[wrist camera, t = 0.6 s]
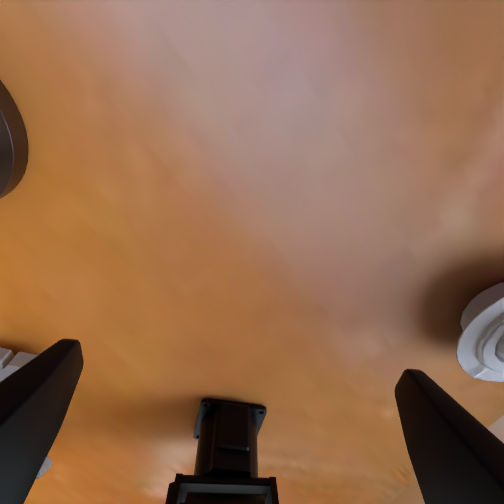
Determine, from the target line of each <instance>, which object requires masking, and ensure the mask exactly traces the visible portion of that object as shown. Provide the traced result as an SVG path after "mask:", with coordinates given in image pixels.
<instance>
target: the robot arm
mask: <svg viewBox="0 0 504 504" xmlns="http://www.w3.org/2000/svg"><path fill="white" fill-rule="evenodd" d="M82 369H83V355H82V350H81V345H80V342H79V341H78V340H74V339H62V340H59V341H58V342H57V343H55V344H54V345H52V346H51V347H49V348H48V349H46V350H45V351H44V352H42V353H41V354H39V355H38V356H36V357H35V358H34V359H32V360H31V361H29V362H28V363H26V364H25V365H23V366H22V367H21V368H19V369H18V370H16V371H15V372H13V373H12V374H10V375H9V376H8V377H6V378H5V379H3V380H2V381H0V504H23V503H24V501H25V499H26V497H27V495H28V493H29V491H30V489H31V487H32V485H33V483H34V481H35V479H36V477H37V475H38V473H39V471H40V469H41V467H42V465H43V463H44V461H45V459H46V457H47V455H48V453H49V451H50V449H51V447H52V444H53V442H54V440H55V438H56V436H57V434H58V432H59V430H60V428H61V425H62V423H63V420H64V418H65V415H66V412H67V410H68V407H69V404H70V402H71V399H72V396H73V393H74V391H75V388H76V385H77V383H78V380H79V377H80V374H81V372H82ZM395 398H396V402H397V407H398V411H399V416H400V420H401V424H402V429H403V433H404V437H405V442H406V446H407V450H408V453H409V456H410V459H411V462H412V465H413V468H414V471H415V475H416V478H417V481H418V483H419V487H420V489H421V493H422V496H423V499H424V502H425V504H504V444H503V443H502V442H501V441H500V440H499V439H498V438H497V437H496V436H495V435H493V434H492V433H491V432H490V431H489V430H488V429H487V428H486V427H485V426H483V425H482V424H481V423H480V422H479V421H478V420H477V419H476V418H474V417H473V416H472V415H471V414H470V413H469V412H468V411H467V410H465V409H464V408H463V407H462V406H461V405H460V404H459V403H458V402H456V401H455V400H454V399H453V398H452V397H451V396H450V395H449V394H447V393H446V392H445V391H444V390H443V389H442V388H441V387H440V386H438V385H437V384H436V383H435V382H434V381H433V380H432V379H431V378H430V377H428V376H427V375H426V374H425V373H424V372H423V371H421V370H417V369H406V370H404V372H403V374H402V375H401V377H400V379H399V381H398V383H397V385H396V387H395ZM265 415H266V407H265V406H261V405H253V404H246V403H238V402H230V401H223V400H215V399H207V398H205V399H202V401H201V404H200V409H199V413H198V417H197V422H196V426H195V431H194V438H195V439H199V440H198V448H197V455H196V463H195V470H194V475H183V474H176V478H175V481H174V482H172V483H170V484H169V488H168V493H167V498H166V503H165V504H279V500H278V492H277V484H276V477H269V478H258V462H257V435H258V432H259V430H260V427H261V425H262V422H263V420H264V418H265Z"/></svg>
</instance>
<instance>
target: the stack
mask: <svg viewBox="0 0 504 504" xmlns="http://www.w3.org/2000/svg"><path fill="white" fill-rule="evenodd" d="M27 162H28V140H27V134H26V129H25V126H24V123H23V120H22V117H21V115H20V113H19V110H18V108H17V106H16V104H15V102H14V100H13V99H12V97H11V95H10V93H9V92H8V90H7V89H6V88H5V86H4V85H3V83H2V82H1V80H0V198H2V197H4V196H5V195H7V194H8V193H10V192H11V191H12V190H13V189H14V188H15V187H16V186H17V185H18V183H19V182H20V181H21V179H22V177H23V175H24V173H25V170H26V166H27Z"/></svg>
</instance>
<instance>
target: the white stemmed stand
mask: <svg viewBox="0 0 504 504" xmlns="http://www.w3.org/2000/svg"><path fill="white" fill-rule="evenodd" d="M460 324H461V326H462V329H463V332H462V334H461V336H460V338H459V339H458V343H457V348H456V355H457V359H458V362H459V364H460V366H461V367H462V368H463V369H464V370H465V372H467V373H468V374H469V375H470V376H471V377H472V378H479V379H482V380H487V381H502V382H504V282H502V283H498V284H496V285H494V286H492V287H490V288H488V289H486V290H484V291H482V292H481V293H479V294H478V295H477V296H476V297H475V298H473V299H472V300H471V301H470V303H469V304H468V305H467V307H466V308H465V309H464V310H463V314H462V317H461V321H460Z"/></svg>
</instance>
